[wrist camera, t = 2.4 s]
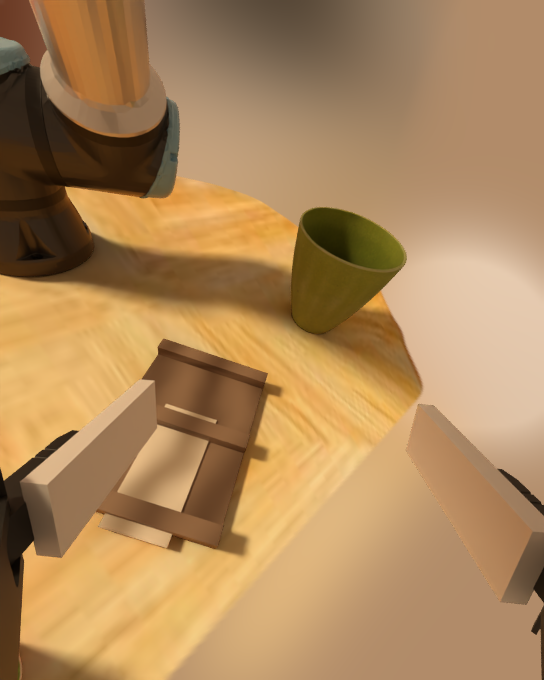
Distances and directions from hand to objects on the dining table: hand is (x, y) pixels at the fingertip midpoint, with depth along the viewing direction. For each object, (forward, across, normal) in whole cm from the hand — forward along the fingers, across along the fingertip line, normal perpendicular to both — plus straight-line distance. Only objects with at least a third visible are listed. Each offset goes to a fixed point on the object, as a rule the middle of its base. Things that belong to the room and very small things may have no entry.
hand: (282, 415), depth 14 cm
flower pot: (+36, +5, -3) cm, 36 cm away
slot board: (+14, -10, -12) cm, 21 cm away
